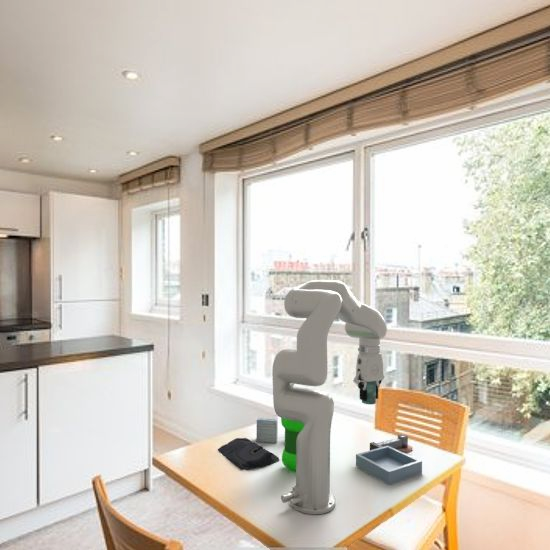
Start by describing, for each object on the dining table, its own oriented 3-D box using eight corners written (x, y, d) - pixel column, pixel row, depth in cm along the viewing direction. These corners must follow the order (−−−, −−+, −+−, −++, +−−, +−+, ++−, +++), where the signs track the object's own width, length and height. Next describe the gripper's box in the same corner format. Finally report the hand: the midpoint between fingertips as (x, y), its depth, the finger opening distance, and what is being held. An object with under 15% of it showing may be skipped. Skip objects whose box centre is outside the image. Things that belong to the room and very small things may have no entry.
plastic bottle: (292, 478, 133) (292, 399, 134) (275, 466, 142) (275, 391, 143) (317, 471, 139) (318, 395, 139) (299, 459, 148) (300, 387, 148)
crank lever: (400, 443, 161) (400, 433, 161) (411, 447, 157) (411, 437, 157) (369, 451, 153) (369, 441, 153) (379, 456, 149) (379, 445, 149)
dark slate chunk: (250, 442, 164) (250, 430, 164) (282, 463, 146) (282, 449, 146) (214, 450, 156) (214, 437, 156) (243, 474, 137) (243, 459, 137)
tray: (389, 484, 130) (389, 471, 130) (355, 466, 143) (355, 454, 143) (422, 473, 138) (422, 461, 138) (387, 456, 151) (387, 445, 151)
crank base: (403, 453, 153) (403, 452, 153) (388, 447, 159) (388, 445, 159) (416, 449, 157) (416, 448, 157) (401, 443, 163) (401, 441, 163)
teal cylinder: (368, 405, 153) (368, 382, 153) (359, 401, 157) (359, 380, 158) (378, 403, 156) (378, 381, 156) (368, 399, 160) (369, 378, 160)
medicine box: (277, 439, 167) (277, 417, 167) (276, 443, 162) (276, 420, 162) (257, 438, 167) (258, 416, 167) (256, 442, 163) (256, 419, 163)
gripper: (359, 353, 149) (358, 404, 149) (393, 349, 158) (392, 398, 158) (345, 350, 156) (344, 399, 155) (378, 346, 165) (377, 393, 164)
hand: (368, 398), depth 157 cm, fingers closed on teal cylinder, 5 cm apart
